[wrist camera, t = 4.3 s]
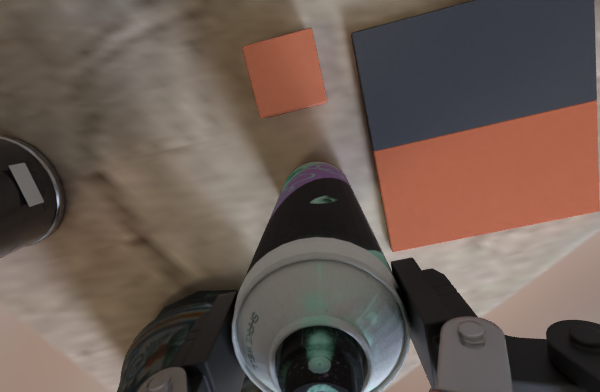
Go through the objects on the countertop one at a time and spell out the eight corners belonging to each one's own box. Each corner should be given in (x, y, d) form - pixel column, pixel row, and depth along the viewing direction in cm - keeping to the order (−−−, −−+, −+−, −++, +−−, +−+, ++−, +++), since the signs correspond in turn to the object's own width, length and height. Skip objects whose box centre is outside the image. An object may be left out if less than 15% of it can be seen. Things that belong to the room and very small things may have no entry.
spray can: (325, 147, 26) (357, 252, 6) (363, 202, 27) (492, 440, 7) (269, 186, 27) (150, 381, 7) (308, 238, 28) (293, 532, 8)
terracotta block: (269, 117, 25) (260, 118, 21) (254, 57, 24) (241, 46, 20) (325, 103, 25) (327, 101, 21) (312, 42, 24) (311, 27, 20)
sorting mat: (391, 249, 28) (392, 252, 27) (350, 34, 24) (351, 32, 23) (593, 209, 26) (600, 211, 25) (586, -29, 22) (593, -32, 22)
